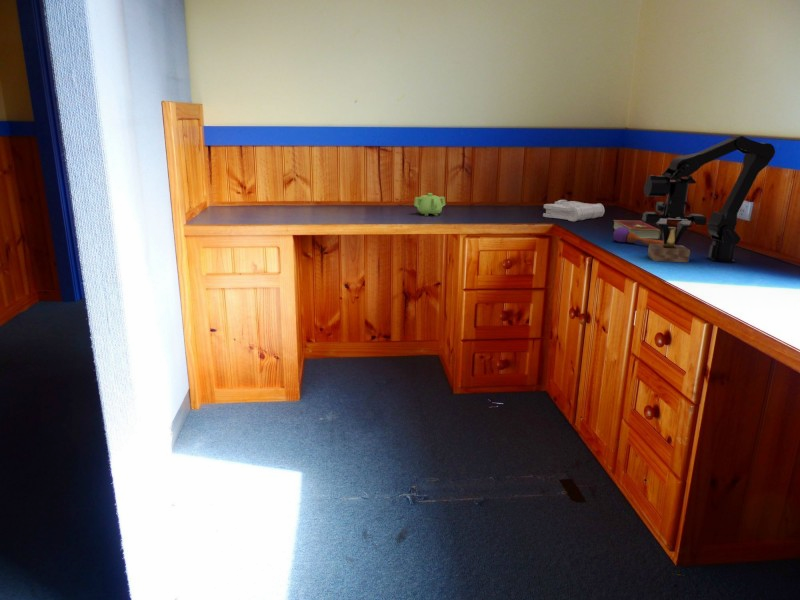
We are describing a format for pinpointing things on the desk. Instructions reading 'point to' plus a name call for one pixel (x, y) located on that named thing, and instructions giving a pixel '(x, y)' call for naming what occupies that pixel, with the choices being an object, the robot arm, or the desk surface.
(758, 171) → the robot arm
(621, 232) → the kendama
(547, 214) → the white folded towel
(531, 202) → the desk surface
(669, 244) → the brass pin
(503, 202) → the desk surface
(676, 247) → the bore block
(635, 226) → the hardcover book
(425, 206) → the teapot
